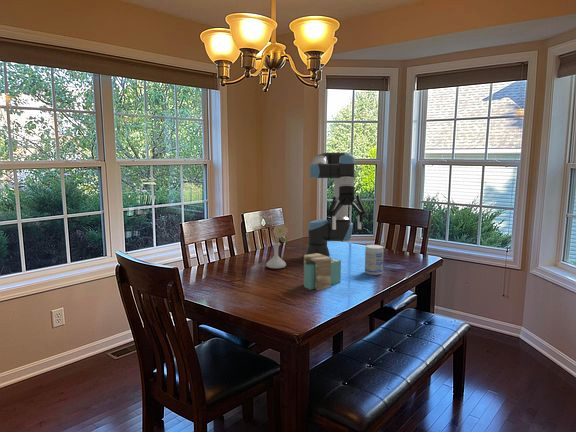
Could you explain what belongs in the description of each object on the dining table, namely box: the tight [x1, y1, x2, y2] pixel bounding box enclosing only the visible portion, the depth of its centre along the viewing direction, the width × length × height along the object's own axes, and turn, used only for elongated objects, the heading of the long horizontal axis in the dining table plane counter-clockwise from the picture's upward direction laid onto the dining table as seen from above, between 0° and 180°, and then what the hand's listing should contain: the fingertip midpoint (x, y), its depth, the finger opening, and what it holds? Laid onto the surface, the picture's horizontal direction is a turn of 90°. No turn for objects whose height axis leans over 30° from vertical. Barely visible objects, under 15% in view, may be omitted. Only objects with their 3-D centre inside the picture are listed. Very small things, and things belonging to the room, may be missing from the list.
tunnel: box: [303, 253, 332, 291], centre depth 201 cm, size 11×8×15 cm
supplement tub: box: [364, 244, 384, 276], centre depth 224 cm, size 10×10×15 cm
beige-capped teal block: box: [303, 258, 342, 291], centre depth 203 cm, size 5×19×11 cm, turn 125°
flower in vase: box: [265, 223, 289, 269], centre depth 233 cm, size 13×11×25 cm
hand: (346, 229), depth 205 cm, fingers open, 13 cm apart
